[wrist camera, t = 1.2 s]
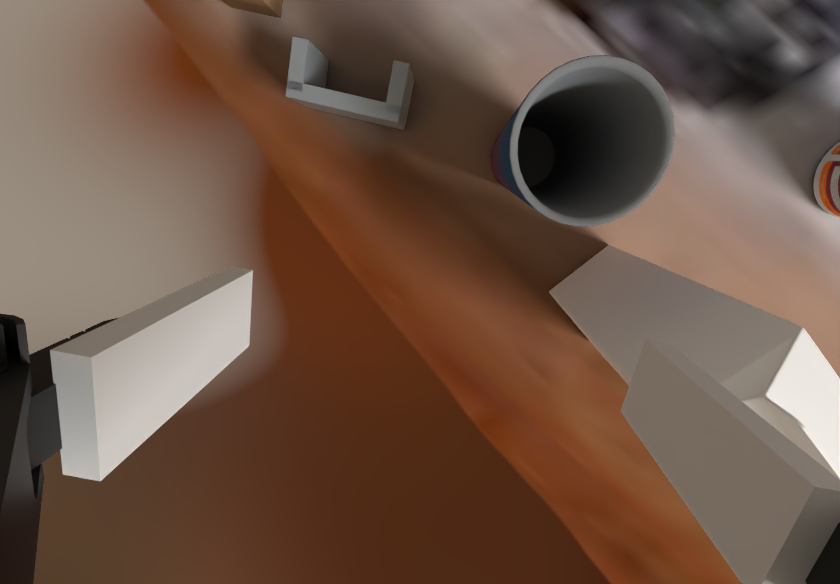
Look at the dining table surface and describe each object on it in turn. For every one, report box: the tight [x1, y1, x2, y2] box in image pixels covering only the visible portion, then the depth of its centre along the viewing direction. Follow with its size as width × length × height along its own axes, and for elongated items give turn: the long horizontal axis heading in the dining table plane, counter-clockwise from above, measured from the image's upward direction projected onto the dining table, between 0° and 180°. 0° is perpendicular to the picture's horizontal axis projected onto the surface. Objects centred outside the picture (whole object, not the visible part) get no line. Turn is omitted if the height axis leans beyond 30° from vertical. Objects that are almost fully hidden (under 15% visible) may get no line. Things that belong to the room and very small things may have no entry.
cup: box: [491, 55, 675, 226], centre depth 25 cm, size 7×7×15 cm
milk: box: [549, 245, 840, 480], centre depth 24 cm, size 6×6×22 cm
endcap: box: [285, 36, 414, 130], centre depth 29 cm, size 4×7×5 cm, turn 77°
